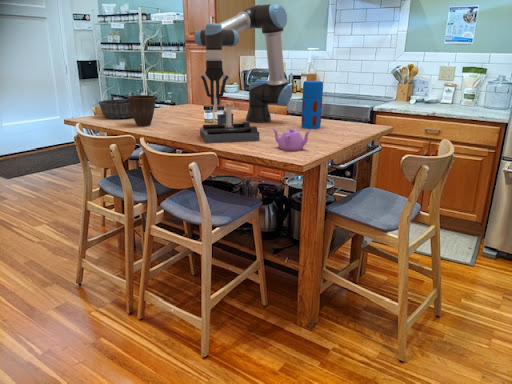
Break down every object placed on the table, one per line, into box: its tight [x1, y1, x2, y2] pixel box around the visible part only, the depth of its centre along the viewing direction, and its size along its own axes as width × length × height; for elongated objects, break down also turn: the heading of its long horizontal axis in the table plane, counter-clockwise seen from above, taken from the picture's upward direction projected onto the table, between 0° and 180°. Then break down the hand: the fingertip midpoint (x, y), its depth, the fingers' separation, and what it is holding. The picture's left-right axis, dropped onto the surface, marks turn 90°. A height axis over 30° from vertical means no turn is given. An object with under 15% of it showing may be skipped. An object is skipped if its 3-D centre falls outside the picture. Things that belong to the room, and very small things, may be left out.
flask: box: [216, 109, 234, 124], centre depth 220 cm, size 9×3×11 cm, turn 121°
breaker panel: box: [199, 121, 260, 144], centre depth 202 cm, size 26×18×6 cm
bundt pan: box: [97, 98, 133, 120], centre depth 259 cm, size 26×26×10 cm
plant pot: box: [127, 94, 157, 127], centre depth 231 cm, size 15×15×16 cm
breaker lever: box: [225, 102, 233, 126], centre depth 200 cm, size 2×5×13 cm, turn 15°
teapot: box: [272, 128, 311, 152], centre depth 182 cm, size 12×14×9 cm
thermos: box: [301, 80, 324, 130], centre depth 229 cm, size 11×11×25 cm
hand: (215, 111), depth 197 cm, fingers closed
